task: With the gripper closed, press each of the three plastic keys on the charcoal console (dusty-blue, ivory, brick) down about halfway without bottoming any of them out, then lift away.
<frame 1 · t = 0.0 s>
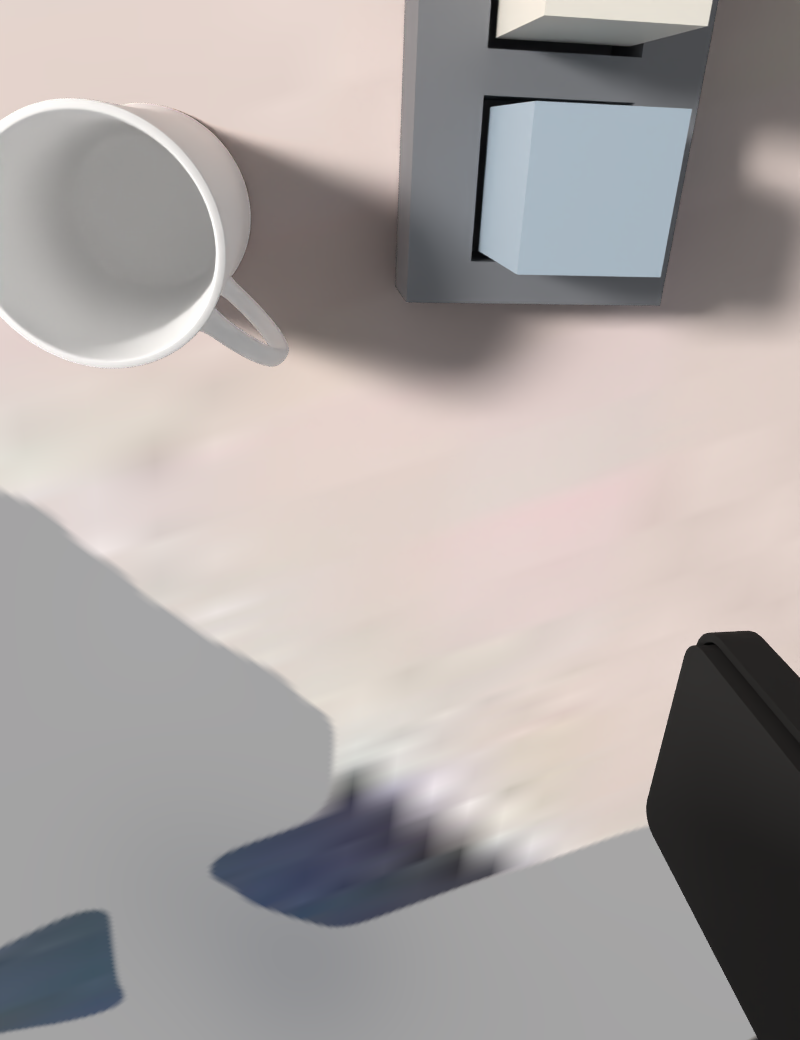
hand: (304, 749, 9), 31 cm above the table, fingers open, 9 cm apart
mug: (184, 237, 35), on the table
key blue: (571, 188, 30), point 7 cm above the table, slide at 0.0 cm
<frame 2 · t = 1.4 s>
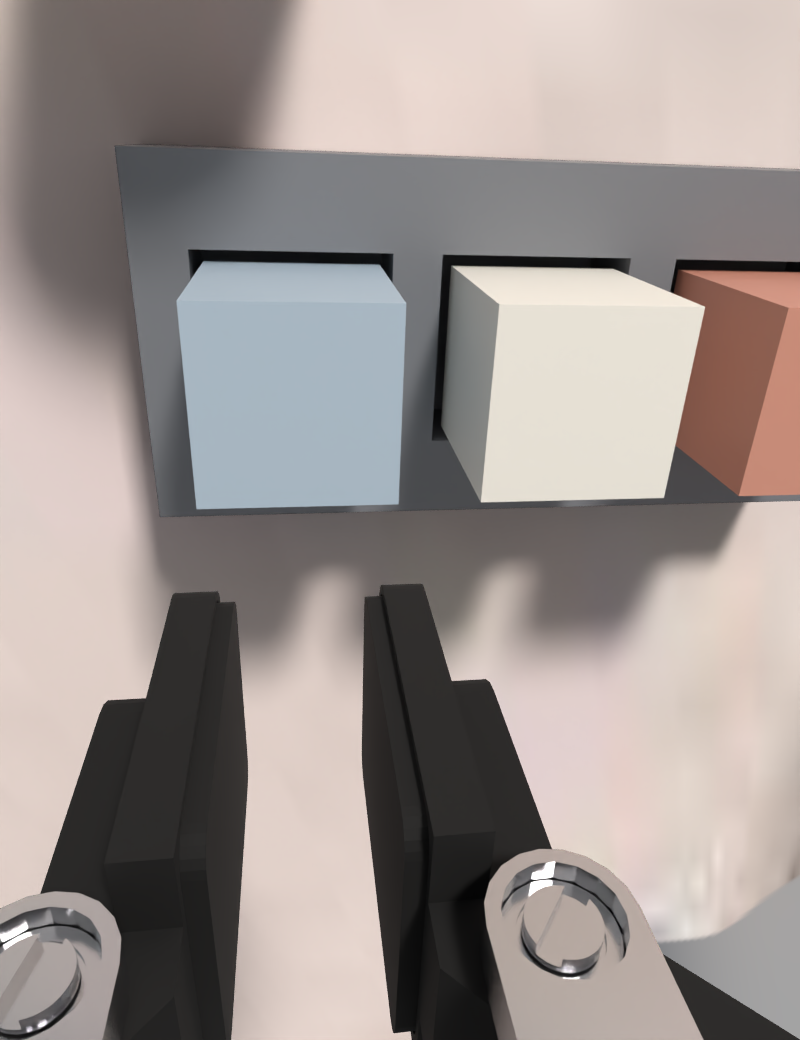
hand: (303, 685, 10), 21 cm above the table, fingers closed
key brick: (786, 375, 25), point 7 cm above the table, slide at 0.0 cm
key ivory: (551, 375, 24), point 7 cm above the table, slide at 0.0 cm
console: (499, 327, 30), on the table
key blue: (295, 375, 23), point 7 cm above the table, slide at 0.0 cm
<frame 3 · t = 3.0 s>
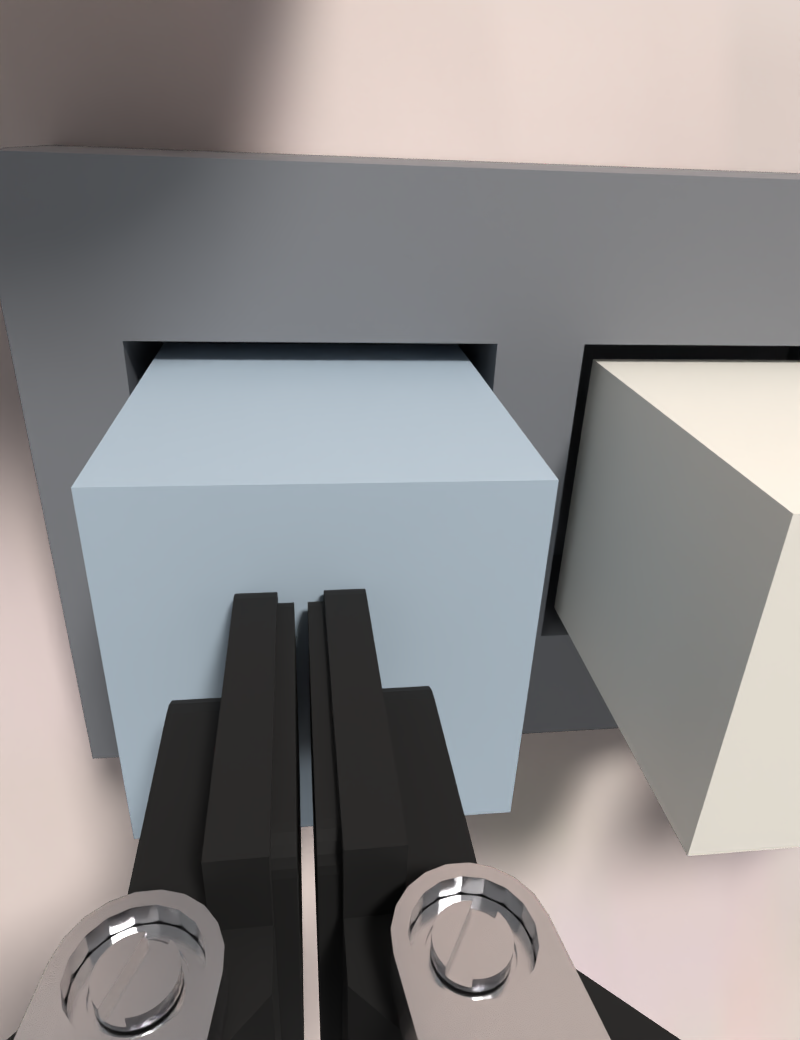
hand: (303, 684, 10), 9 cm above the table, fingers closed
key ivory: (789, 571, 13), point 7 cm above the table, slide at 0.0 cm
console: (634, 432, 19), on the table
key blue: (320, 554, 13), point 6 cm above the table, slide at 1.0 cm, touching gripper
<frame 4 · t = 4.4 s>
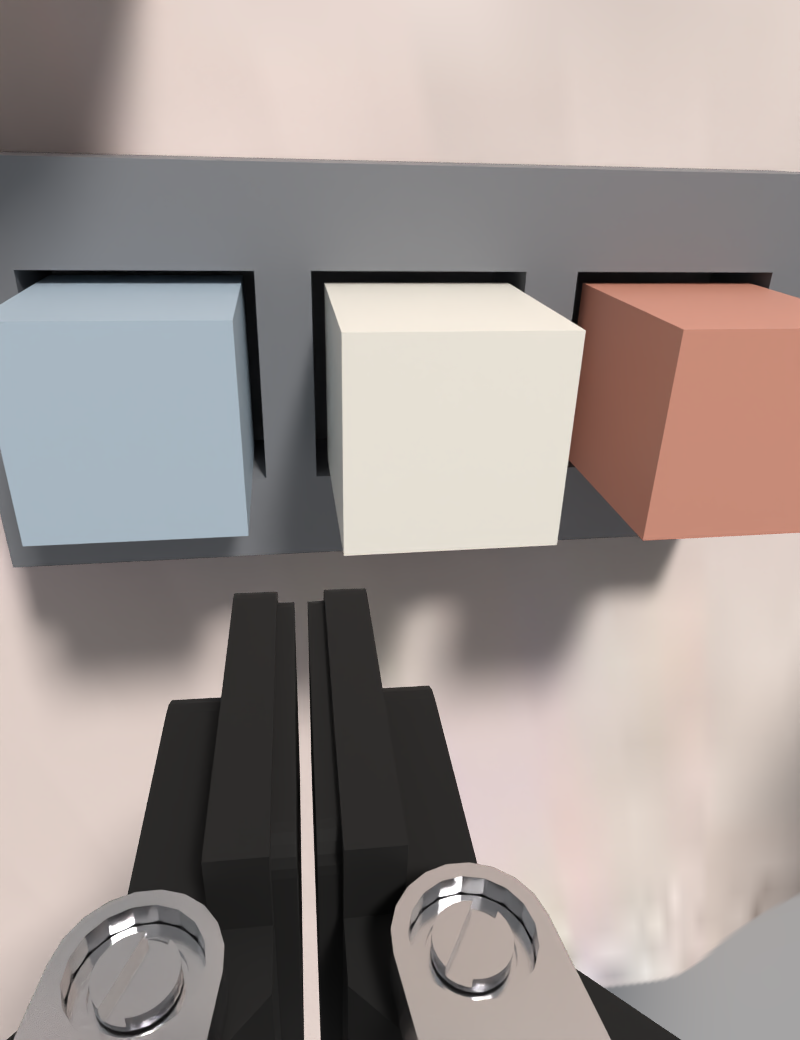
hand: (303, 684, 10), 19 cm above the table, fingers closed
key brick: (700, 400, 22), point 7 cm above the table, slide at 0.0 cm
key ivory: (433, 406, 21), point 7 cm above the table, slide at 0.0 cm
console: (398, 347, 27), on the table
key blue: (143, 397, 21), point 5 cm above the table, slide at 1.3 cm
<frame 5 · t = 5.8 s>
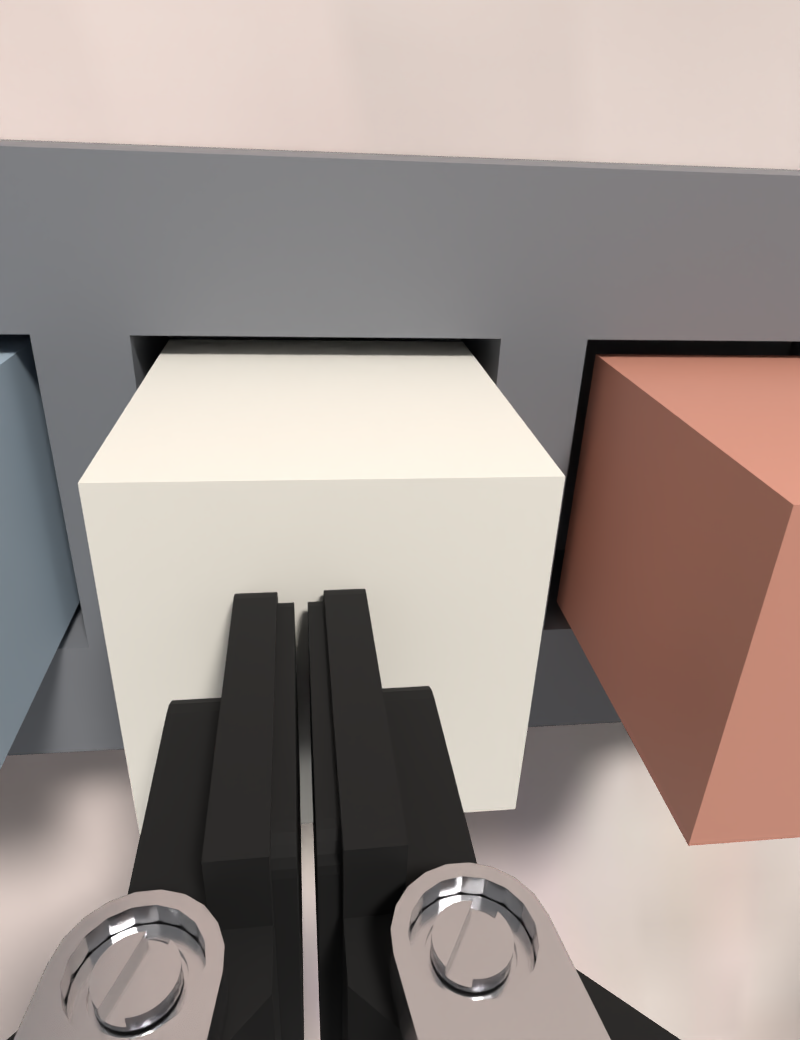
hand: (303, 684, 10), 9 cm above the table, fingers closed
key brick: (790, 564, 13), point 7 cm above the table, slide at 0.0 cm
key ivory: (325, 551, 13), point 6 cm above the table, slide at 0.9 cm, touching gripper
console: (318, 430, 18), on the table
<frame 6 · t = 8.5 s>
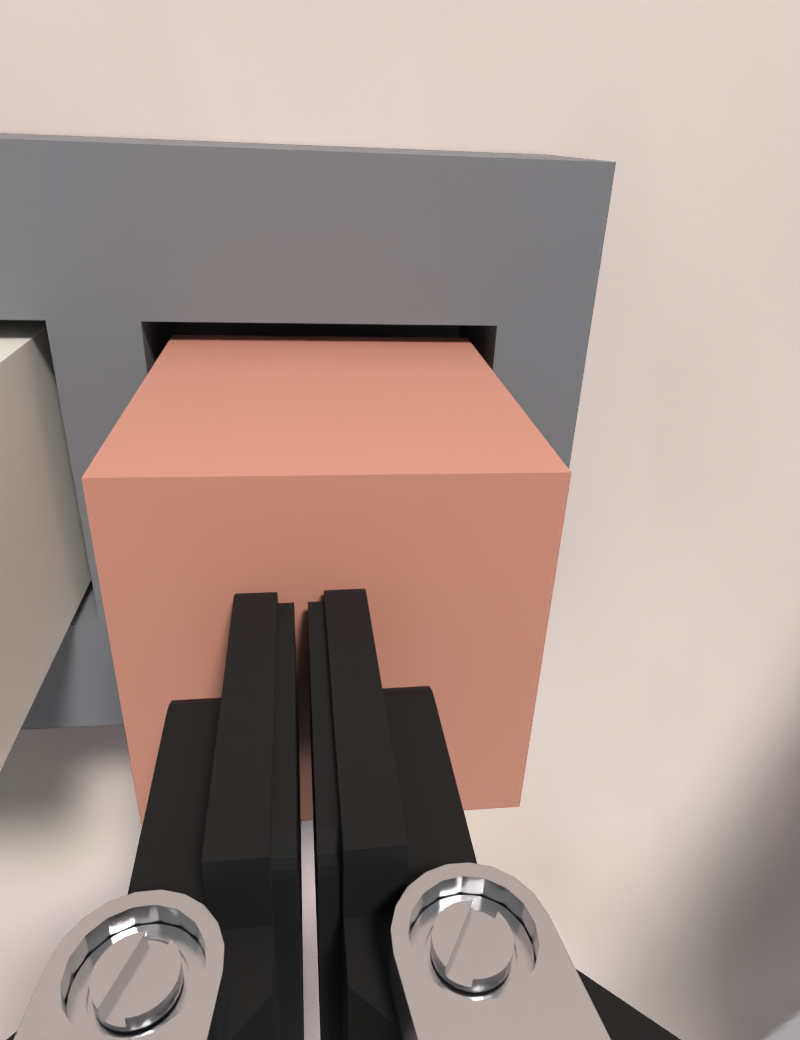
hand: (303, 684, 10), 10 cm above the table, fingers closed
key brick: (329, 547, 13), point 7 cm above the table, slide at 0.2 cm, touching gripper
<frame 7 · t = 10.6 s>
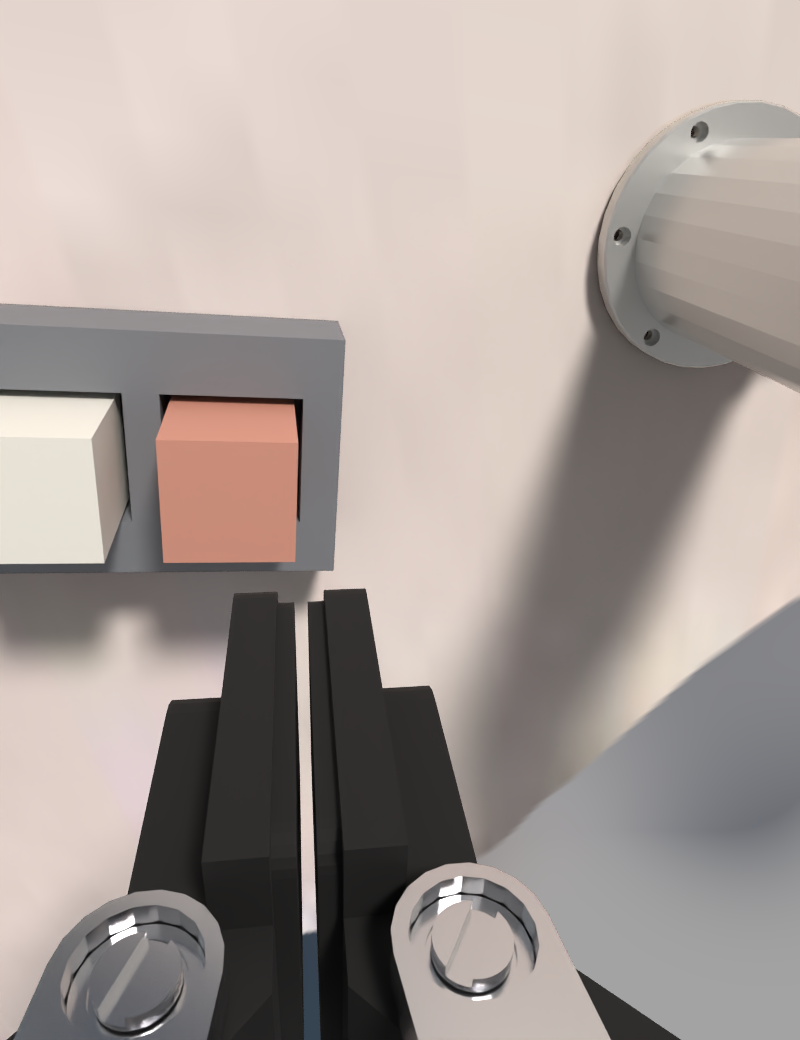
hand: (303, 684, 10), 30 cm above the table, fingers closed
key brick: (232, 473, 34), point 5 cm above the table, slide at 1.3 cm
key ivory: (45, 471, 33), point 5 cm above the table, slide at 1.3 cm
console: (73, 428, 38), on the table
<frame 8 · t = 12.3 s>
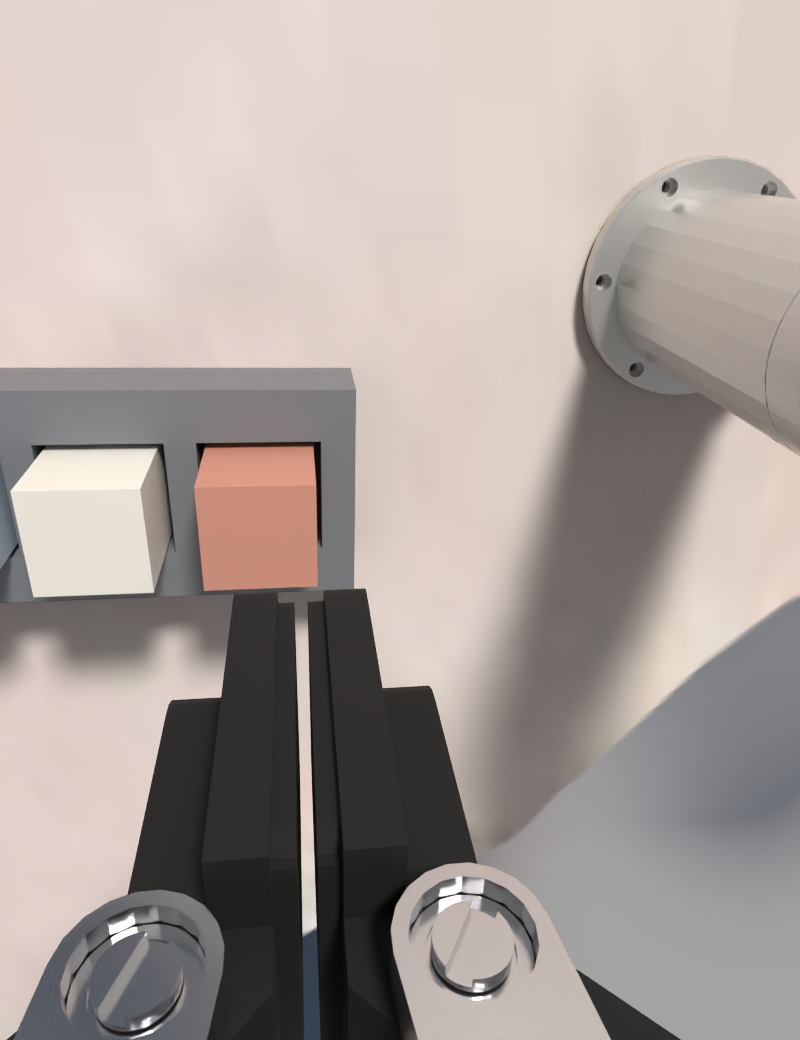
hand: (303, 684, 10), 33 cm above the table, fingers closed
key brick: (261, 509, 39), point 5 cm above the table, slide at 1.3 cm
key ivory: (100, 513, 38), point 5 cm above the table, slide at 1.3 cm
console: (121, 471, 43), on the table
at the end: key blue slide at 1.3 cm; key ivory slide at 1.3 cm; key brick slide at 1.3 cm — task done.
